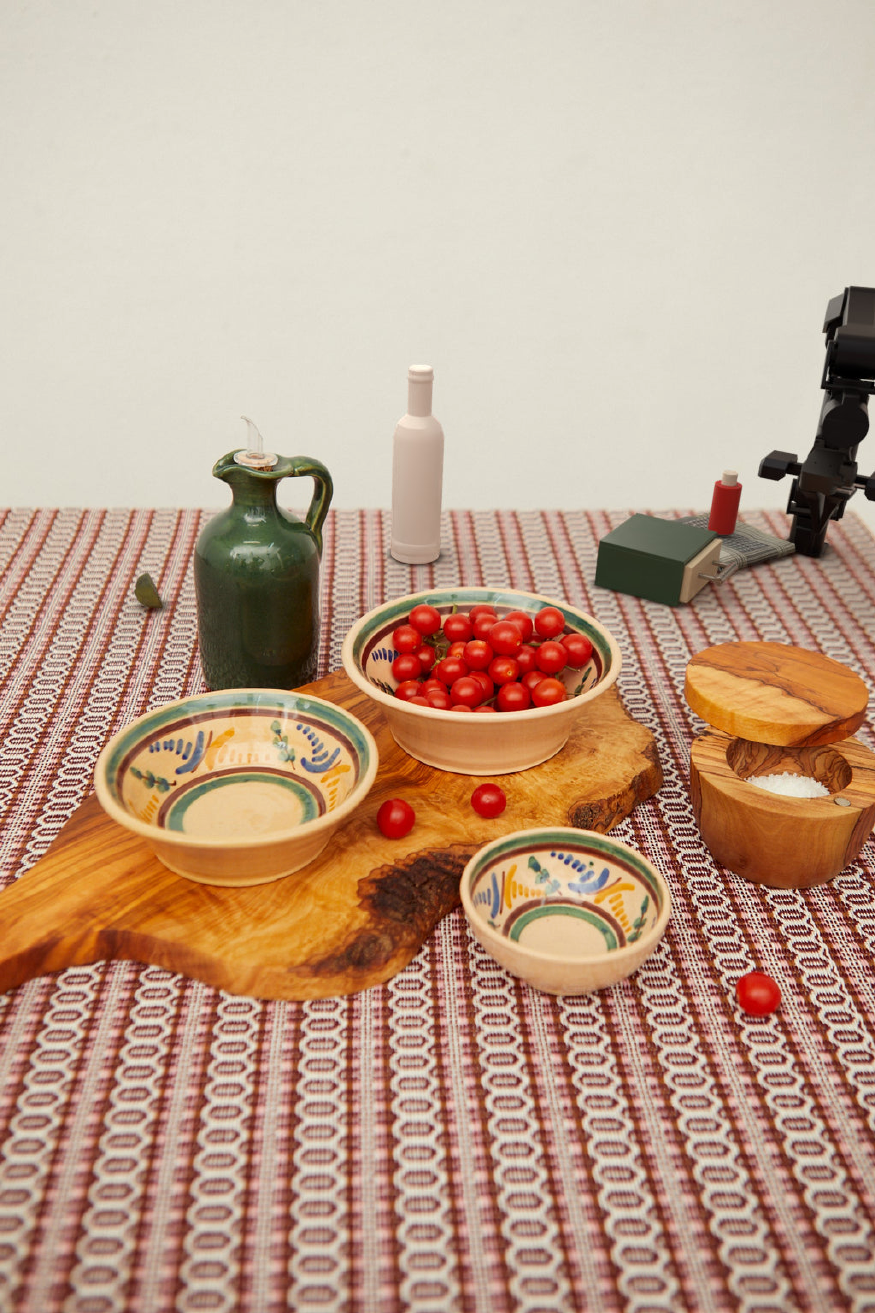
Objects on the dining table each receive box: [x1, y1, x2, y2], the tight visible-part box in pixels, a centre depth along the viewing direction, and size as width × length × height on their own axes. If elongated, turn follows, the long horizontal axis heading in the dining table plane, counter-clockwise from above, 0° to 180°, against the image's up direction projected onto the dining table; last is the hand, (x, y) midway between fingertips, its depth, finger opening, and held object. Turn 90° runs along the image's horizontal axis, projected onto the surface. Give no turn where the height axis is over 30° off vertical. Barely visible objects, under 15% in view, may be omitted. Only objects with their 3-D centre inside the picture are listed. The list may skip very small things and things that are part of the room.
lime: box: [133, 572, 164, 609], centre depth 154 cm, size 4×5×5 cm
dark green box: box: [593, 512, 717, 609], centre depth 168 cm, size 13×14×7 cm
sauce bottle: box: [708, 469, 743, 535], centre depth 180 cm, size 4×4×10 cm
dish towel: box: [668, 512, 796, 573], centre depth 183 cm, size 19×18×3 cm
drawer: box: [679, 538, 739, 604], centre depth 167 cm, size 16×13×6 cm
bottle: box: [389, 363, 445, 565], centre depth 168 cm, size 8×8×30 cm
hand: (817, 533), depth 158 cm, fingers closed
